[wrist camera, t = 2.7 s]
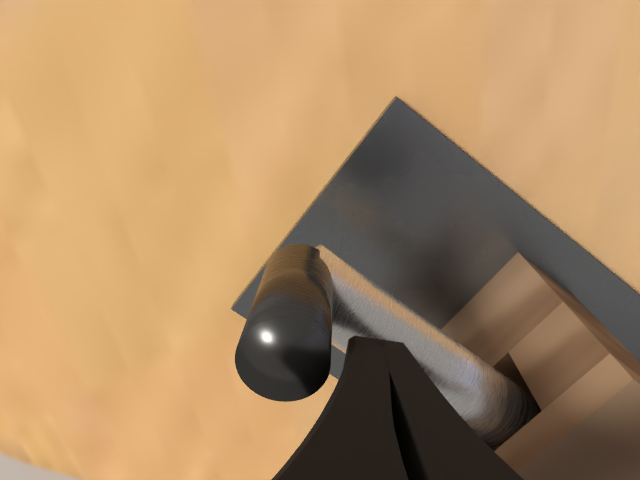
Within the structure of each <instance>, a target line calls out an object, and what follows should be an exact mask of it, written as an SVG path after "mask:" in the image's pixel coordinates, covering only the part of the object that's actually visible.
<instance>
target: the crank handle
mask: <svg viewBox="0 0 640 480" xmlns="http://www.w3.org/2000/svg"><path fill="white" fill-rule="evenodd" d="M354 335H355V336H361V337H368V338H375V339H382V340H389V341H396V342H402V343H404V344H405V346H406V347H407V348H408V349H409V351H410V352H411V354H412V355H413V356H414V358H415V359H416V360H417V362H418V363H419V364H420V366H421V367H422V369H423V370H424V371H425V373H426V374H427V375H428V377H429V378H430V379H431V380H432V382H433V383H434V384H435V386H436V387H437V388H438V389H439V391H440V392H441V393H442V394H443V396H444V397H445V398H446V399H447V401H448V402H449V403H450V404H451V405H452V407H453V408H454V409H455V410H456V411H457V412H458V414H459V415H460V416H461V417H462V418H463V419H464V420H465V421H466V423H467V424H468V425H469V426H470V427H471V428H472V429H473V430H474V431H475V432H476V433H477V435H478V436H479V437H480V438H481V439H482V440H483V441H484V442H485V443H486V444H487V445H488V446H489V447H490V448H491V449H492V450H493V451H495V450H496V449H498V448H499V447H500V446H501V445H502V444H503V443H505V442H506V441H507V440H508V439H509V438H511V437H512V436H513V435H514V434H515V433H516V432H518V431H519V430H520V429H521V428H522V427H524V426H525V425H526V424H527V423H528V422H529V421H531V420H532V419H533V418H534V417H535V416H537V415H538V414H539V413H540V412H541V409H540V407H539V405H538V404H537V402H536V400H535V398H534V396H532V395H531V394H530V393H528V392H527V391H525V390H524V389H523V388H521V387H520V386H518V385H517V384H516V383H514V382H513V381H511V380H510V379H509V378H507V377H506V376H504V375H503V374H502V373H500V372H499V371H497V370H496V369H495V368H493V367H492V366H490V365H489V364H488V363H486V362H485V361H483V360H482V359H481V358H479V357H478V356H476V355H475V354H474V353H472V352H471V351H469V350H468V349H467V348H465V347H464V346H462V345H461V344H460V343H458V342H457V341H455V340H454V339H453V338H451V337H450V336H448V335H447V334H446V333H444V332H443V331H441V330H440V329H439V328H437V327H436V326H434V325H433V324H432V323H430V322H429V321H427V320H426V319H425V318H423V317H422V316H420V315H419V314H418V313H416V312H415V311H413V310H412V309H411V308H409V307H408V306H406V305H405V304H404V303H402V302H401V301H399V300H398V299H397V298H395V297H394V296H392V295H391V294H390V293H388V292H387V291H385V290H384V289H383V288H381V287H380V286H378V285H377V284H376V283H374V282H373V281H371V280H370V279H369V278H367V277H366V276H364V275H363V274H362V273H360V272H359V271H357V270H356V269H355V268H353V267H352V266H350V265H349V264H348V263H346V262H345V261H343V260H342V259H341V258H339V257H338V256H336V255H335V254H334V253H332V252H331V251H330V250H328V249H327V248H325V247H324V246H323V245H318V246H317V247H315V248H314V247H312V246H309V245H305V244H292V245H288V246H285V247H283V248H281V249H279V250H278V251H276V252H275V253H274V254H273V255H272V256H271V258H270V259H269V261H268V263H267V266H266V268H265V271H264V274H263V277H262V279H261V282H260V285H259V288H258V290H257V293H256V296H255V299H254V301H253V304H252V307H251V310H250V313H249V315H248V318H247V321H246V324H245V326H244V329H243V332H242V335H241V337H240V340H239V343H238V346H237V349H236V353H235V364H236V369H237V372H238V374H239V376H240V378H241V379H242V381H243V382H244V383H245V384H246V385H247V386H248V387H249V388H250V389H251V390H252V391H254V392H255V393H257V394H258V395H260V396H262V397H265V398H267V399H271V400H275V401H284V402H285V401H296V400H300V399H303V398H306V397H308V396H310V395H312V394H314V393H315V392H316V391H318V390H319V389H320V388H321V387H322V386H323V384H324V383H325V381H326V380H327V378H328V375H329V372H330V367H331V344H332V345H333V346H335V347H336V348H338V349H339V350H341V351H342V352H344V353H345V354H346V350H347V345H348V340H349V339H350V338H351V337H353V336H354Z"/></svg>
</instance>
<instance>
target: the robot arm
mask: <svg viewBox="0 0 640 480" xmlns="http://www.w3.org/2000/svg"><path fill="white" fill-rule="evenodd" d="M272 480H524V479H523V478H522V477H521V476H520V475H518V474H517V473H516V472H515V471H514V470H513V469H512V468H511V467H510V466H509V465H508V464H507V463H506V462H505V461H504V460H502V459H501V458H500V457H499V456H498V455H497V454H496V453H495V452H494V451H493V450H492V449H491V448H490V447H489V446H488V445H487V444H486V443H485V442H484V441H483V440H482V439H481V438H480V437H479V436H478V435H477V433H476V432H475V431H474V430H473V429H472V428H471V427H470V426H469V425H468V424H467V423H466V421H465V420H464V419H463V418H462V417H461V416H460V415H459V414H458V412H457V411H456V410H455V409H454V408H453V407H452V405H451V404H450V403H449V402H448V401H447V399H446V398H445V397H444V396H443V394H442V393H441V392H440V391H439V389H438V388H437V387H436V386H435V384H434V383H433V382H432V380H431V379H430V378H429V377H428V375H427V374H426V373H425V371H424V370H423V369H422V367H421V366H420V364H419V363H418V362H417V360H416V359H415V358H414V356H413V355H412V354H411V352H410V351H409V349H408V348H407V347H406V346H405V344H404V343H402V342H396V341H389V340H382V339H375V338H368V337H361V336H355V335H354V336H353V337H351V338H350V339H349V340H348V345H347V350H346V355H345V360H344V366H343V371H342V373H341V376H340V378H339V381H338V383H337V385H336V387H335V390H334V392H333V393H332V395H331V397H330V399H329V401H328V403H327V404H326V406H325V408H324V410H323V412H322V413H321V415H320V417H319V418H318V420H317V421H316V423H315V425H314V426H313V428H312V429H311V431H310V432H309V433H308V435H307V436H306V438H305V439H304V441H303V442H302V443H301V445H300V446H299V447H298V448H297V450H296V451H295V452H294V454H293V455H292V456H291V457H290V459H289V460H288V461H287V462H286V464H285V465H284V466H283V467H282V468H281V470H280V471H279V472H278V473H277V474H276V475H275V476H274V478H273V479H272Z"/></svg>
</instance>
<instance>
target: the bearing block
mask: <svg viewBox="0 0 640 480" xmlns="http://www.w3.org/2000/svg"><path fill="white" fill-rule="evenodd" d="M441 331H443V332H444V333H446V334H447V335H448V336H450V337H451V338H453V339H454V340H455V341H457V342H458V343H460V344H461V345H462V346H464V347H465V348H467V349H468V350H469V351H471V352H472V353H474V354H475V355H476V356H478V357H479V358H481V359H482V360H483V361H485V362H486V363H488V364H489V365H490V366H492V367H493V368H495V369H496V370H497V371H499V372H500V373H502V374H503V375H504V376H506V377H507V378H509V379H510V380H511V381H513V382H514V383H516V384H517V385H518V386H520V387H521V388H523V389H524V390H525V391H527V392H528V393H530V394H531V395H532V396H534V398H535V400H536V402H537V404H538V405H539V407H540V409H541V412H540V413H539V414H538V415H537V416H535V417H534V418H533V419H532V420H531V421H529V422H528V423H527V424H526V425H525V426H524V427H522V428H521V429H520V430H519V431H518V432H516V433H515V434H514V435H513V436H512V437H511V438H509V439H508V440H507V441H506V442H505V443H503V444H502V445H501V446H500V447H499V448H498V449H496V450H495V451H494V452H495V453H496V454H497V455H498V456H499V457H500V458H501V459H502V460H504V461H505V462H506V463H507V464H508V465H509V466H510V467H511V468H512V469H513V470H514V471H515V472H516V473H517V474H518V475H520V476H521V477H522V478H523V479H524V480H640V362H639V361H638V360H637V359H636V358H635V357H634V356H633V355H632V354H631V353H630V352H629V351H628V350H627V349H626V348H625V347H624V346H623V345H622V344H621V343H620V342H619V341H618V340H617V339H616V338H615V337H614V336H613V335H612V334H611V333H610V332H609V331H608V330H607V329H606V327H605V326H604V325H603V324H602V323H601V322H600V321H599V320H598V319H597V318H596V317H595V316H594V315H593V314H592V313H591V312H590V311H589V310H588V309H587V308H586V307H585V306H584V305H583V304H582V303H581V302H580V301H579V300H578V299H577V298H576V297H575V296H574V295H572V294H571V293H570V292H569V291H567V290H566V289H565V288H564V287H562V286H561V285H560V284H558V283H557V282H556V281H555V280H553V279H552V278H551V277H550V276H548V275H547V274H546V273H544V272H543V271H542V270H541V269H539V268H538V267H537V266H535V265H534V264H533V263H532V262H530V261H529V260H528V259H527V258H525V257H524V256H523V255H521V254H520V253H519V252H518V253H517V254H516V255H515V256H514V257H513V258H512V259H511V260H510V261H509V262H508V263H507V264H506V265H505V266H504V267H503V268H502V269H501V270H500V271H499V272H498V273H497V274H496V275H495V276H494V277H493V278H492V279H491V280H490V281H489V282H488V283H487V284H486V285H485V286H484V287H483V288H482V289H481V290H480V291H479V292H478V293H477V294H476V295H475V296H474V297H473V298H472V299H471V300H470V301H469V302H468V303H467V304H466V305H465V306H464V307H463V308H462V309H461V310H460V311H459V312H458V313H457V314H456V315H455V316H454V317H453V318H452V319H451V320H450V321H449V322H448V323H447V324H446V325H445V326H444V327H443V328H442V329H441Z"/></svg>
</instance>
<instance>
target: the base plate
mask: <svg viewBox="0 0 640 480" xmlns="http://www.w3.org/2000/svg"><path fill="white" fill-rule="evenodd" d="M292 244H305V245H309V246H312V247H314V248H315V247H317V246H318V245H323V246H324V247H325V248H327V249H328V250H330V251H331V252H332V253H334V254H335V255H336V256H338V257H339V258H341V259H342V260H343V261H345V262H346V263H348V264H349V265H350V266H352V267H353V268H355V269H356V270H357V271H359V272H360V273H362V274H363V275H364V276H366V277H367V278H369V279H370V280H371V281H373V282H374V283H376V284H377V285H378V286H380V287H381V288H383V289H384V290H385V291H387V292H388V293H390V294H391V295H392V296H394V297H395V298H397V299H398V300H399V301H401V302H402V303H404V304H405V305H406V306H408V307H409V308H411V309H412V310H413V311H415V312H416V313H418V314H419V315H420V316H422V317H423V318H425V319H426V320H427V321H429V322H430V323H432V324H433V325H434V326H436V327H437V328H439V329H440V330H441V329H442V328H443V327H444V326H445V325H446V324H447V323H448V322H449V321H450V320H451V319H452V318H453V317H454V316H455V315H456V314H457V313H458V312H459V311H460V310H461V309H462V308H463V307H464V306H465V305H466V304H467V303H468V302H469V301H470V300H471V299H472V298H473V297H474V296H475V295H476V294H477V293H478V292H479V291H480V290H481V289H482V288H483V287H484V286H485V285H486V284H487V283H488V282H489V281H490V280H491V279H492V278H493V277H494V276H495V275H496V274H497V273H498V272H499V271H500V270H501V269H502V268H503V267H504V266H505V265H506V264H507V263H508V262H509V261H510V260H511V259H512V258H513V257H514V256H515V255H516V254H517V253H518V252H519V253H520V254H521V255H523V256H524V257H525V258H527V259H528V260H529V261H530V262H532V263H533V264H534V265H535V266H537V267H538V268H539V269H541V270H542V271H543V272H544V273H546V274H547V275H548V276H550V277H551V278H552V279H553V280H555V281H556V282H557V283H558V284H560V285H561V286H562V287H564V288H565V289H566V290H567V291H569V292H570V293H571V294H572V295H574V296H575V297H576V298H577V299H578V300H579V301H580V302H581V303H582V304H583V305H584V306H585V307H586V308H587V309H588V310H589V311H590V312H591V313H592V314H593V315H594V316H595V317H596V318H597V319H598V320H599V321H600V322H601V323H602V324H603V325H604V326H605V327H606V329H607V330H608V331H609V332H610V333H611V334H612V335H613V336H614V337H615V338H616V339H617V340H618V341H619V342H620V343H621V344H622V345H623V346H624V347H625V348H626V349H627V350H628V351H629V352H630V353H631V354H632V355H633V356H634V357H635V358H636V359H637V360H638V361H639V362H640V295H639V294H638V293H637V292H636V291H634V290H633V289H632V288H631V287H630V286H628V285H627V284H626V283H625V282H623V281H622V280H621V279H620V278H618V277H617V276H616V275H615V274H614V273H612V272H611V271H610V270H609V269H607V268H606V267H605V266H604V265H602V264H601V263H600V262H599V261H598V260H596V259H595V258H594V257H593V256H591V255H590V254H589V253H588V252H587V251H585V250H584V249H583V248H582V247H580V246H579V245H578V244H577V243H575V242H574V241H573V240H572V239H571V238H569V237H568V236H567V235H566V234H564V233H563V232H562V231H561V230H559V229H558V228H557V227H556V226H555V225H553V224H552V223H551V222H550V221H548V220H547V219H546V218H545V217H544V216H542V215H541V214H540V213H539V212H537V211H536V210H535V209H534V208H532V207H531V206H530V205H529V204H528V203H526V202H525V201H524V200H523V199H521V198H520V197H519V196H518V195H516V194H515V193H514V192H513V191H512V190H510V189H509V188H508V187H507V186H505V185H504V184H503V183H502V182H501V181H499V180H498V179H497V178H496V177H494V176H493V175H492V174H491V173H489V172H488V171H487V170H486V169H485V168H483V167H482V166H481V165H480V164H478V163H477V162H476V161H475V160H474V159H472V158H471V157H470V156H469V155H467V154H466V153H465V152H464V151H462V150H461V149H460V148H459V147H458V146H456V145H455V144H454V143H453V142H451V141H450V140H449V139H448V138H446V137H445V136H444V135H443V134H442V133H440V132H439V131H438V130H437V129H435V128H434V127H433V126H432V125H431V124H429V123H428V122H427V121H426V120H424V119H423V118H422V117H421V116H419V115H418V114H417V113H416V112H415V111H413V110H412V109H411V108H410V107H408V106H407V105H406V104H405V103H403V102H402V101H401V100H400V99H399V98H397V97H396V96H395V97H394V99H393V100H392V101H391V102H390V104H389V105H388V106H387V107H386V109H385V110H384V111H383V113H382V114H381V115H380V116H379V118H378V119H377V120H376V122H375V123H374V124H373V125H372V127H371V128H370V129H369V131H368V132H367V133H366V134H365V136H364V137H363V138H362V140H361V141H360V142H359V143H358V145H357V146H356V147H355V149H354V150H353V151H352V152H351V154H350V155H349V156H348V158H347V159H346V160H345V161H344V163H343V164H342V165H341V166H340V168H339V169H338V170H337V172H336V173H335V174H334V175H333V177H332V178H331V179H330V181H329V182H328V183H327V184H326V186H325V187H324V188H323V190H322V191H321V192H320V193H319V195H318V196H317V197H316V199H315V200H314V201H313V202H312V204H311V205H310V206H309V208H308V209H307V210H306V211H305V213H304V214H303V215H302V217H301V218H300V219H299V220H298V222H297V223H296V224H295V225H294V227H293V228H292V229H291V231H290V232H289V233H288V234H287V236H286V237H285V238H284V240H283V241H282V242H281V243H280V245H279V246H278V247H277V249H276V250H275V251H274V252H273V254H274V253H275V252H276V251H278V250H279V249H281V248H283V247H285V246H288V245H292ZM273 254H272V255H273ZM272 255H271V256H272ZM271 256H270V258H271ZM270 258H269V259H270ZM269 259H268V260H267V261H266V263H265V264H264V265H263V267H262V268H261V269H260V270H259V272H258V273H257V274H256V276H255V277H254V278H253V279H252V281H251V282H250V283H249V285H248V286H247V287H246V288H245V290H244V291H243V292H242V293H241V295H240V296H239V297H238V299H237V300H236V301H235V302H234V304H233V306H232V308H231V309H232V310H233V311H235V312H237V313H238V314H240V315H241V316H243V317H244V318H246V319H247V318H248V315H249V313H250V310H251V307H252V304H253V301H254V299H255V296H256V293H257V290H258V288H259V285H260V282H261V279H262V277H263V274H264V271H265V268H266V266H267V263H268V261H269ZM345 355H346V354H345V353H344V352H342V351H341V350H339V349H338V348H336V347H335V346H333V345H332V344H331V367H330V372H329V374H331V375H332V376H334V377H336V378H337V379H339V378H340V376H341V373H342V371H343V366H344V360H345Z"/></svg>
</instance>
